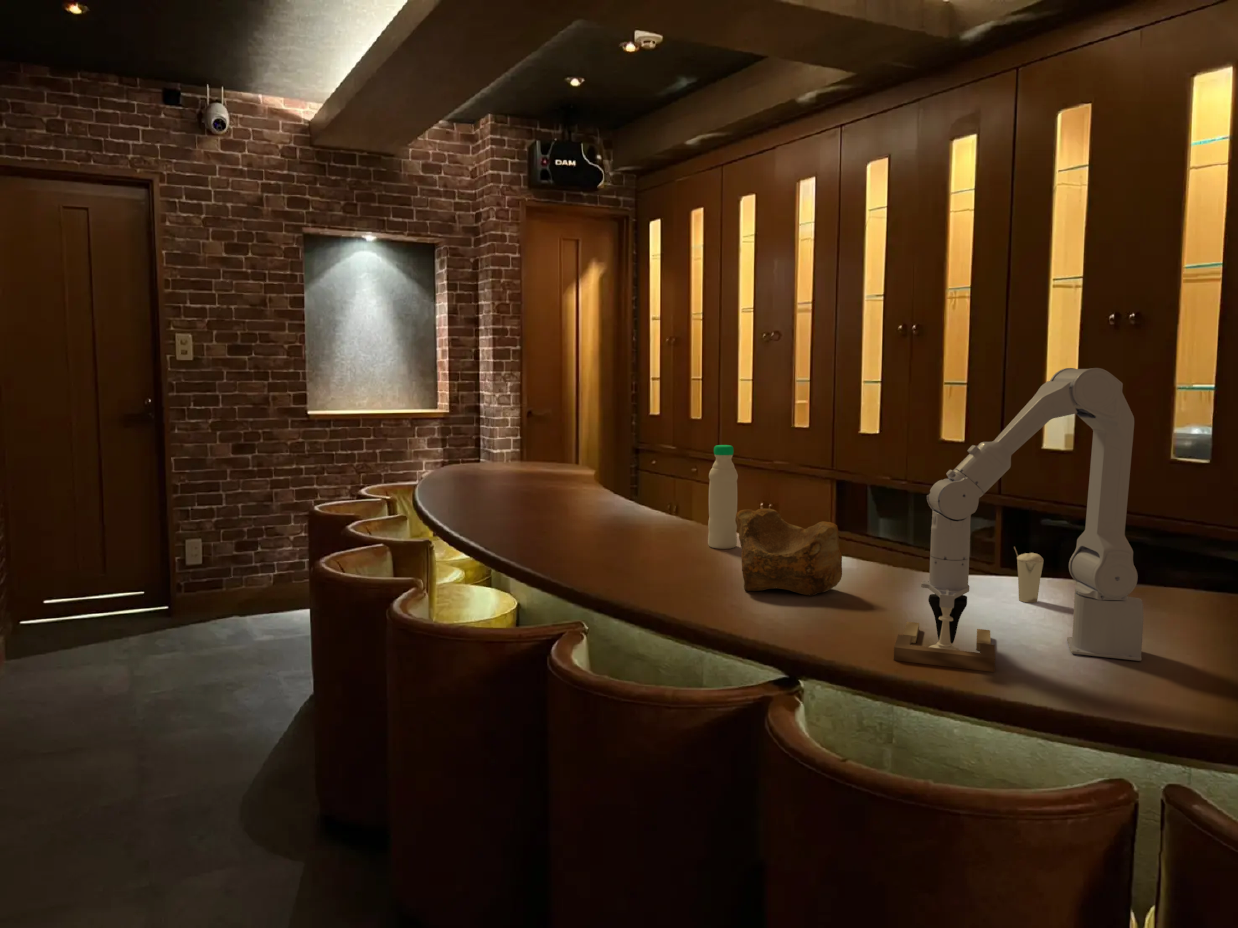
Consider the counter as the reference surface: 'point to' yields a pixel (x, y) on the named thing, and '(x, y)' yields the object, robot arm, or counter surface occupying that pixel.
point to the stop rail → (945, 655)
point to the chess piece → (945, 631)
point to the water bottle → (722, 500)
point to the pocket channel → (913, 630)
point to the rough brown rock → (787, 553)
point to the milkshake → (1029, 576)
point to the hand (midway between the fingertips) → (946, 641)
